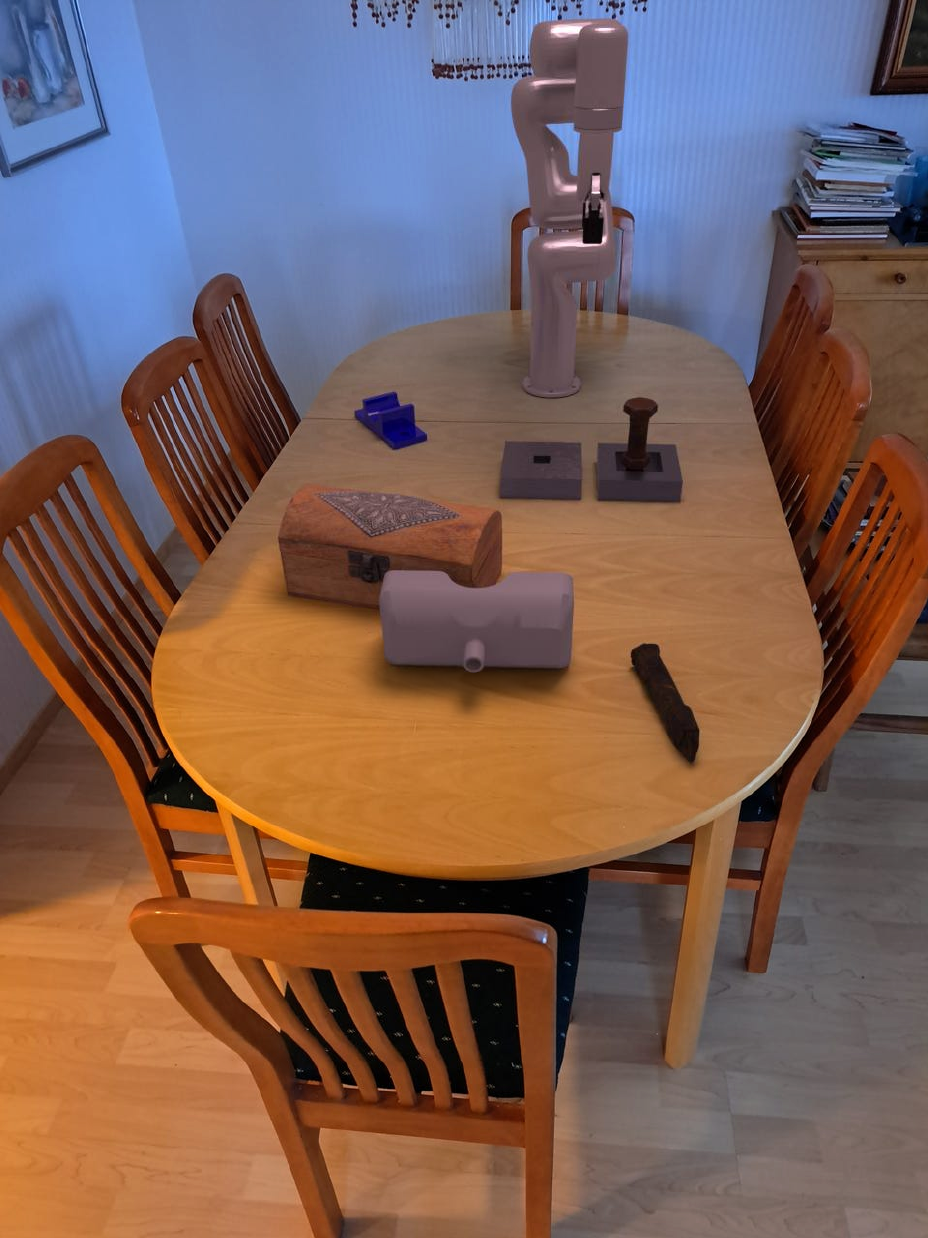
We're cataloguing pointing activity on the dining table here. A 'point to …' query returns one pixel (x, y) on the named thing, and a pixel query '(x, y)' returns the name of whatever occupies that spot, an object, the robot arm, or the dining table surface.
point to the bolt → (638, 432)
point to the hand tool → (667, 699)
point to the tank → (477, 621)
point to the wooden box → (382, 543)
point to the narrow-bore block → (541, 470)
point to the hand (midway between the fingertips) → (591, 235)
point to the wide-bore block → (639, 474)
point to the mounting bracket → (391, 420)
